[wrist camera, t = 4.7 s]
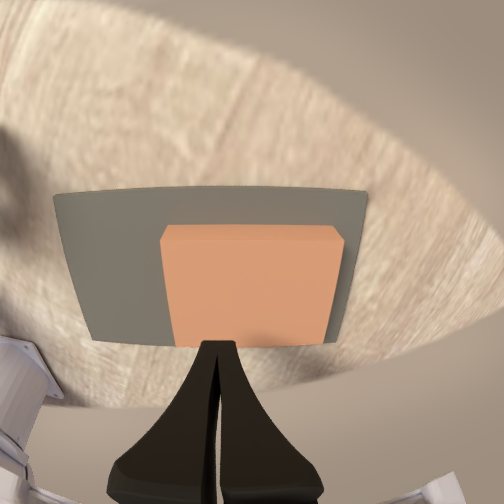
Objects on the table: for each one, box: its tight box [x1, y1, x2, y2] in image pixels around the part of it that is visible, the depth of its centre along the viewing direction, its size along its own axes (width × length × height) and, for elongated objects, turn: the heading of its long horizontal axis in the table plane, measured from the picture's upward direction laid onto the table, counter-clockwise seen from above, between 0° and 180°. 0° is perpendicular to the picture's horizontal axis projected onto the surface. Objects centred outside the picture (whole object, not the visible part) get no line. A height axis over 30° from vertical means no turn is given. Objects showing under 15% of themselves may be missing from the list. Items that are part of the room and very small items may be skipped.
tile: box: [160, 224, 344, 347], centre depth 16 cm, size 2×7×9 cm
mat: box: [53, 186, 368, 346], centre depth 17 cm, size 18×11×1 cm, turn 89°
